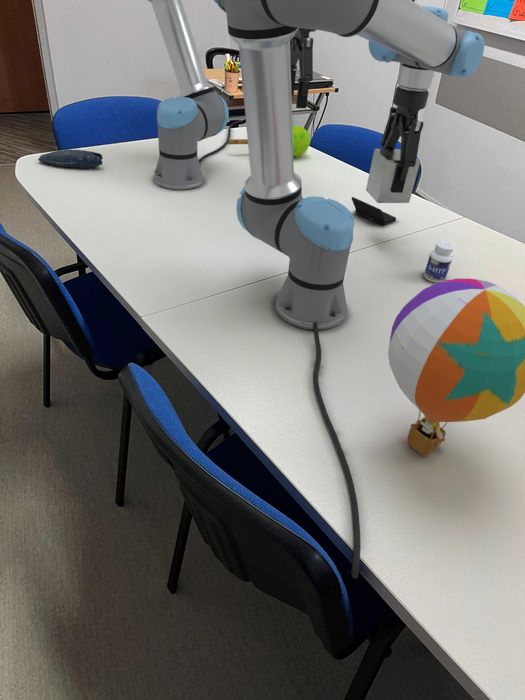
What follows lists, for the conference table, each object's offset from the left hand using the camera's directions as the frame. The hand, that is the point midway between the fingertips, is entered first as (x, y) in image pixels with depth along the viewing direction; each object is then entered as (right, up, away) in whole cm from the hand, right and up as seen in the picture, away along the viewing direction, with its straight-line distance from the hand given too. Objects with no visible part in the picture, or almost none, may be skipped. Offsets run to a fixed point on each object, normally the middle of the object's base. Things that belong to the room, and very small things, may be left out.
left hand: (294, 101), depth 146 cm
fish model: (-71, -10, +22) cm, 75 cm away
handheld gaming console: (+23, -31, +7) cm, 40 cm away
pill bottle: (+33, -52, -18) cm, 65 cm away
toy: (+17, -86, -62) cm, 107 cm away
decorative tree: (-7, +1, +43) cm, 44 cm away
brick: (+23, -30, -12) cm, 40 cm away
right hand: (+23, -28, -14) cm, 39 cm away
